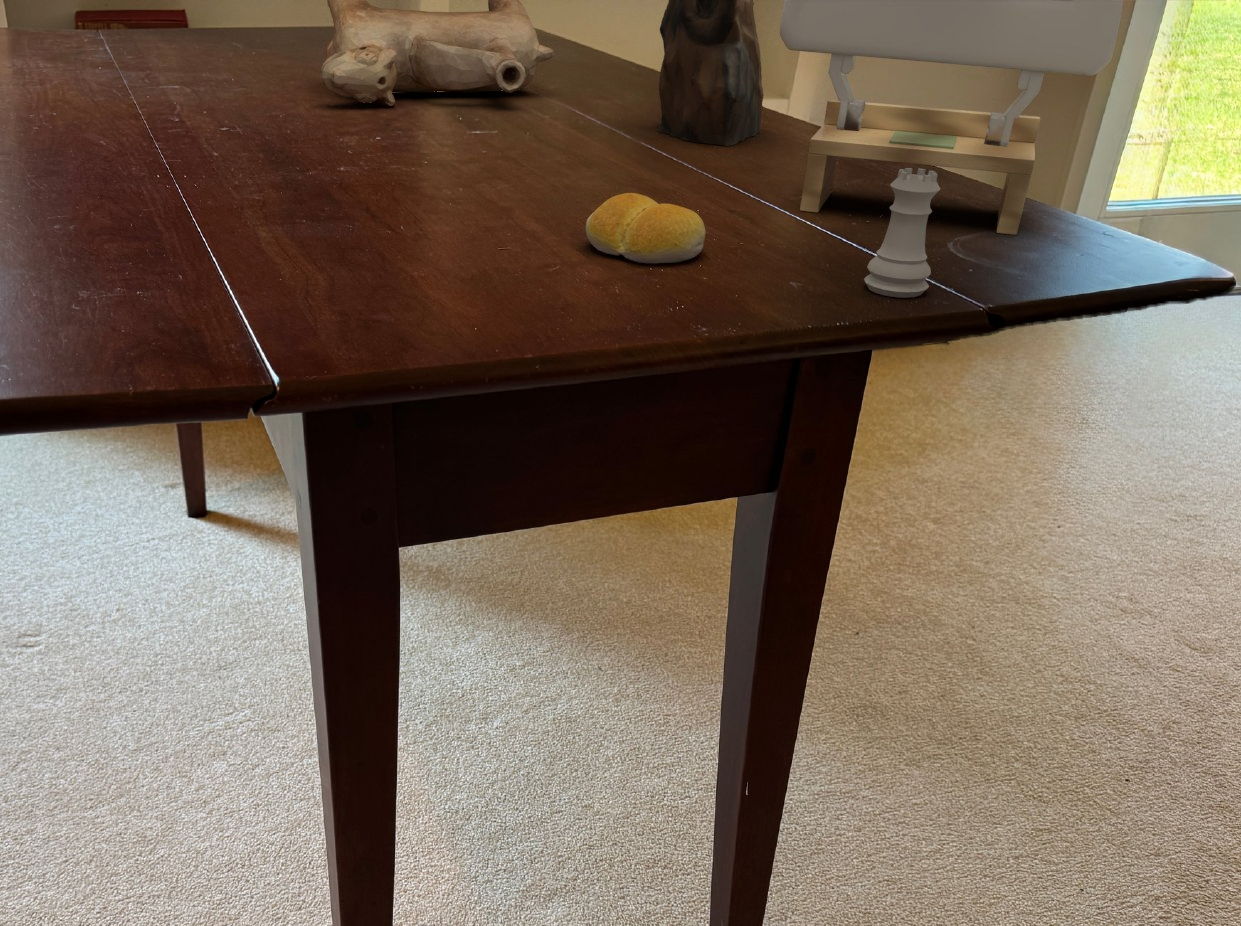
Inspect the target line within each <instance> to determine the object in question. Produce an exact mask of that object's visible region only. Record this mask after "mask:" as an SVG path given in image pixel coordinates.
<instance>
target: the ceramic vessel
mask: <svg viewBox="0 0 1241 926" xmlns="http://www.w3.org/2000/svg"><path fill="white" fill-rule="evenodd" d="M326 1H327V7H328V8H329V12H330V15H331V18H332V23H333V33H332V39H331V41H330V42H329V43H328V44H327V46H326V50H325V54H326V59H325V60H324V62H323V64H322V66H321V69H320V73H321V81H322V83H323V85H324V86H325V87H326V88H327V89H328V91H331V92H332V93H334V94H337V95H339V96H341V97H342V98H347V99H348V98H349V99H350V98H352V99H354V100H356V101H357V102H359V103H361V102H365V103H370V102H373V103H375V102H376V101H382V102H383V103H384V102H387V103H390V104H394V103H395V104H396V100H395V97H394V94H392V92H434V91H435V92H437V91H501V90H503V91H505V92H504V93H509V94H511V93H514V92H518V91H520V90H522V89H523V88H525V87H527V86H528V85H529V84H530V83H531V82H532V81H533V79H534V77H535V76H536V73H537V69H538V64H539V63H542V62H546V61H549V60H550V59H552V58H554V57H555V52H556V50H555V49H554V48H551V47H548V46H545V45H542V44H540V42H539V38H538V34H537V31H536V29H535V27H534V25H533V23H532V20H531V18H530V17H529V14H528V13H527V10H526V8H525V6H524V5H523V3H522V2H521V1H520V0H487V4H488V11H487V10H485V11H427V10H414V9H413V10H411V9H396V8H381V7H377V6H374V5H372V3H369V1H367V0H326ZM519 89H520V90H519ZM517 90H518V91H517ZM365 103H364V104H365Z"/></svg>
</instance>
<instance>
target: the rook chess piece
mask: <svg viewBox="0 0 1241 926" xmlns="http://www.w3.org/2000/svg"><path fill="white" fill-rule="evenodd" d="M926 171H927V169H926V168H919V167H918V169H917V173H916V174H915V173H913V168H912V167H905V168H904V169H902V168H900V169H898V173H897V177H896V178H895V179H894V180H893V181H892V182H891V183H890V184H889V185H890V187H891V189H892V192H893V194H894V200H893V204H891V205H890V206H889V211H891V213H890V218H889V223H888V226H887V230H886V232H885V236H884V238H883V242H882V244H881V246H880V248H879V249H878V250H876V256H874V257H873V258H872V259H871V260H869V262H868V264H867V266H866V267H867V269H868V272H869V274H868V275H866V276H865V277H864V278H863V281H864V282H865V284H866V286H867V288H868V290H869V291H871V292H872V293H875V294H878V295H881V296H884V297H885V296H886V297H892V298H903V299H906V298H907V299H908V298H916V297H920V296H922V295H923V293H925V291H927V290H928V288H929V287H930V285H929V283H928V282H927V281H926V279H928V278H929V277H930V276H931V274H932V272H931V271H932V270H931V267H930V265H929V264H928V262H927V259H928V255H927V253H926V246H925V245H926V233H927V224H928V219H929V215H931V213H933V210H932V208H931V202H932V199H933V198H934V197H935V196H936V195H937V194H938V192H940V191H941V187H940V185H939V183H938V181H937V179H938V173H937V171H935V170H928V173H927V174H926Z"/></svg>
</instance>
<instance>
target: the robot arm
mask: <svg viewBox="0 0 1241 926" xmlns="http://www.w3.org/2000/svg"><path fill="white" fill-rule="evenodd" d="M1123 6H1124V0H784V2H783V6H782V11H781V16H780V24H779V36H780V38H781V40H782V42H783V44H784V45H785V47H786V48H787V49H788V50H789V51H794V52H795V51H796V52H805V53H806V52H807V53H817V54H818V53H819V54H829V55H830V61H829V66H828V75H829V79H830V82H831V83H832V86H833V89H834V92H835V95H836V97H837V100H839V101H840V102H841V104H840V110H839V116H838V122H837V129H839V130H849V131H859V130H860V129H861V125H862V120H863V117H862V115H861V114H862V113H863V112H864V109H865V103H866V102H867V100H863V99H856V98H854V95H853V91H852V88H851V85H850V82H849V79H848V77H847V75H849V74H850V73H851V72H852V71H854V70H855V66H856V65H855V64H856V60H857V57H864V58H865V57H866V58H876V59H888V60H899V61H900V60H901V61H911V62H912V61H913V62H924V63H925V62H926V63H934V64H935V63H936V64H947V65H948V64H949V65H958V66H959V65H960V66H972V67H983V68H996V69H1005V70H1006V69H1007V70H1020V71H1019V75H1018V79H1017V87H1016V88H1017V89H1018V90H1021V92H1020V94H1019V95H1018V96H1017V97H1016V98H1015V100H1013V102H1012V103H1011V104H1010V105H1009V106H1008V108H1006V109H1005V111H1004V112H1003V113H1002V112H990V113H991V116H990V120H989V124H988V130H987V132H986V137H985V141H984V144H986V145H994V146H1003V147H1007V146H1008V142H1009V138H1010V134H1011V130H1012V126H1013V122H1014V118H1017V117H1018V116H1019V115H1022V113H1023V112H1024V110H1025V109H1027V107H1028V106H1029V105H1030V104H1031V103H1032V102H1033V100H1034V99H1035V98H1036V97H1037V96H1038V95H1039V94H1040V92H1041V89H1042V85H1043V81H1044V77H1045V74H1046V73H1053V74H1055V73H1056V74H1065V75H1066V74H1067V75H1068V74H1069V75H1075V76H1076V75H1077V76H1090V77H1091V76H1094V75H1096V74H1098V73H1099V72H1100V71H1102V70H1103V69H1104V68H1105V67H1106V66H1107V65H1109V64H1110V62H1111V61H1112V58H1113V56H1114V52H1115V48H1116V43H1117V39H1118V34H1119V29H1120V23H1121V19H1122V12H1123Z"/></svg>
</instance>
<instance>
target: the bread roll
mask: <svg viewBox="0 0 1241 926" xmlns="http://www.w3.org/2000/svg"><path fill="white" fill-rule="evenodd" d="M706 231H707V230H706V227H705V223H704V221H703V219H702V218H701V217H700V215H699V214H698V213H697V212H695V211H694V210H692V209H689V208H686V207H683V206H681V205H677V204H672V203H658V202H657V201H656V200H654V199H653V198H651V197H649V196H647V195H644V194H640V193H636V192H626V193H620V194H617V195H614V196H612V197H610V198H608V199H606V200H605V201H604V202H603V203H601V205H600V206H599V207H597V208H596V209H595V210H594V212H592V214H590V215H589V216H588V217H587V219H586V223H585V234H586V237H587V240H588V241H589V242H590V244H591V245H592V247H594V248H595V249H596V250H597V251H599V252H601V253H605V254H608V255H612V256H623V257H624V258H625V259H627V260H630V261H633V262H636V263H641V264H674V263H681V262H685V261H689V260H691V259H695V257H697V256H698V255H699V254H701V252H702V251H703V248H704V242H705V239H706V233H707V232H706Z"/></svg>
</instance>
